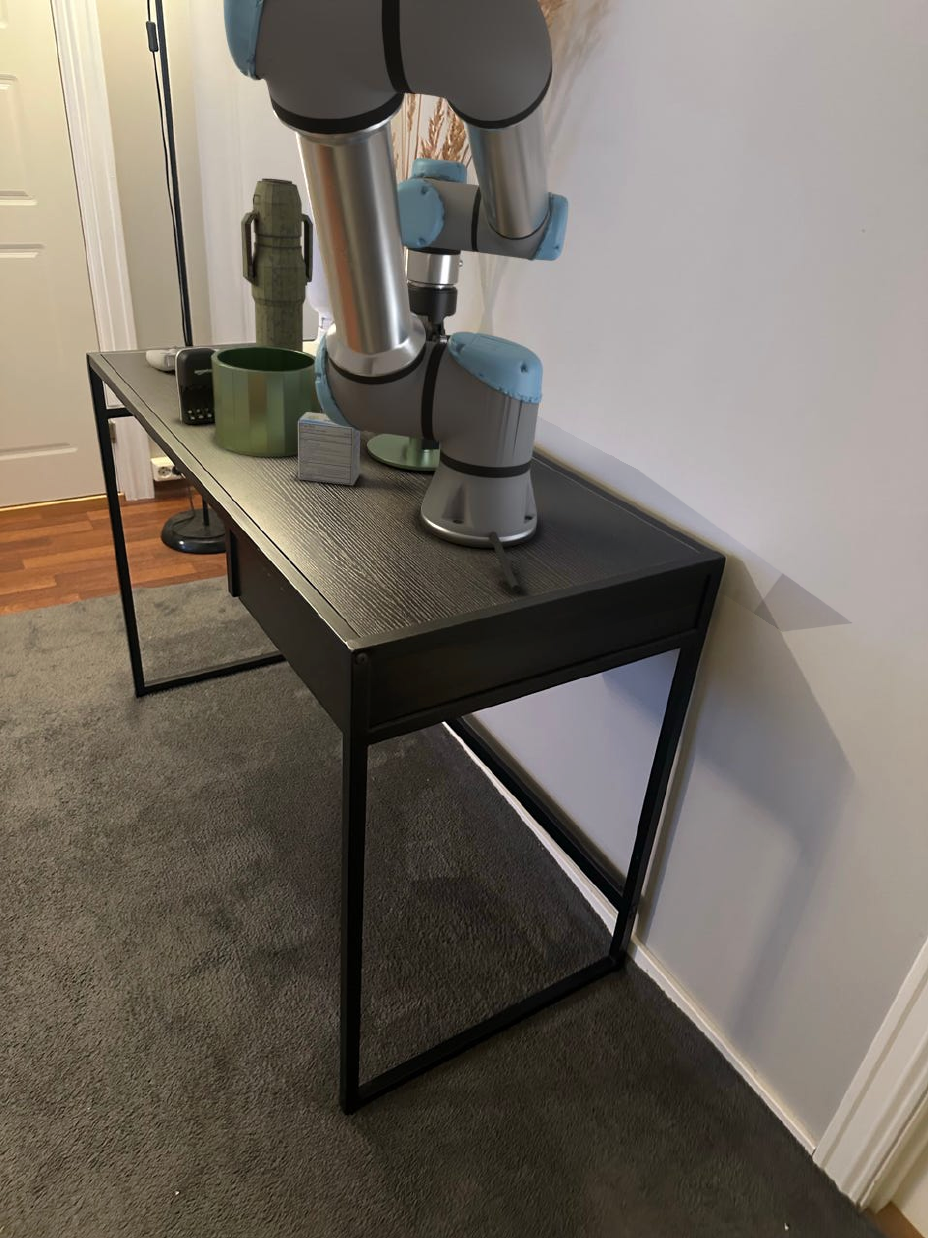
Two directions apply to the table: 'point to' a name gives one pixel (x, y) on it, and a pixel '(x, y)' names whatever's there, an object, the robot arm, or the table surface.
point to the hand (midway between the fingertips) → (420, 438)
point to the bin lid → (403, 452)
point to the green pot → (262, 398)
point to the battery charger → (195, 385)
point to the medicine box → (327, 450)
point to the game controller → (163, 358)
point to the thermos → (278, 262)
